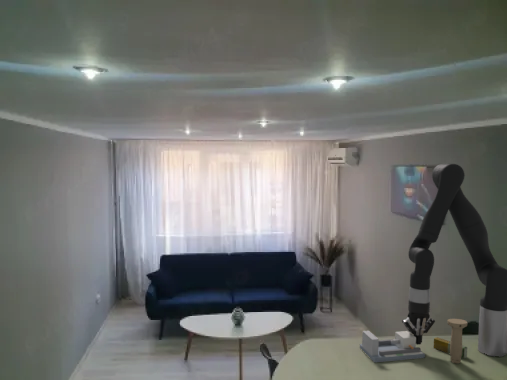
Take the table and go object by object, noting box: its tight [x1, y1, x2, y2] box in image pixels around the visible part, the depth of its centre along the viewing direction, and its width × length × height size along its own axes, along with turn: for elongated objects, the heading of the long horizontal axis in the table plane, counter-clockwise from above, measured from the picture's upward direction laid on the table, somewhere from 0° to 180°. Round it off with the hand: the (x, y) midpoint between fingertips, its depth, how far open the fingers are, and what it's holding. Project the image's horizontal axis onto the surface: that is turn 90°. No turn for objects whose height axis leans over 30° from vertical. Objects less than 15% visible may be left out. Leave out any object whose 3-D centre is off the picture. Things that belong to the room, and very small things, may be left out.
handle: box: [447, 318, 468, 364], centre depth 157 cm, size 5×6×15 cm
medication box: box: [433, 336, 468, 360], centre depth 165 cm, size 12×3×4 cm, turn 39°
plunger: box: [391, 330, 417, 349], centre depth 164 cm, size 8×8×5 cm
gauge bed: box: [359, 330, 426, 363], centre depth 164 cm, size 20×12×8 cm, turn 101°
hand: (417, 343), depth 166 cm, fingers closed
